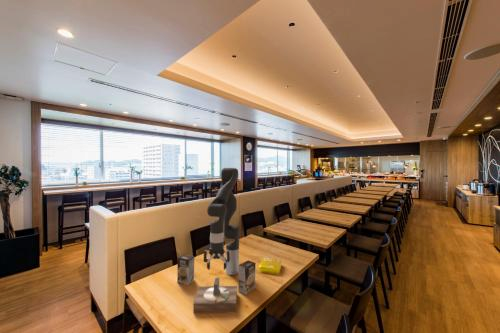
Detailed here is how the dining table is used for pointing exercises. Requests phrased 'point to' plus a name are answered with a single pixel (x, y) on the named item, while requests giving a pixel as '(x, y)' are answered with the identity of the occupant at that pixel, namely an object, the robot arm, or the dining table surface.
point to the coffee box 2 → (246, 277)
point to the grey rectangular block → (216, 288)
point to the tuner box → (223, 300)
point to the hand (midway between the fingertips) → (216, 269)
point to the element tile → (270, 266)
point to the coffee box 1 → (185, 269)
